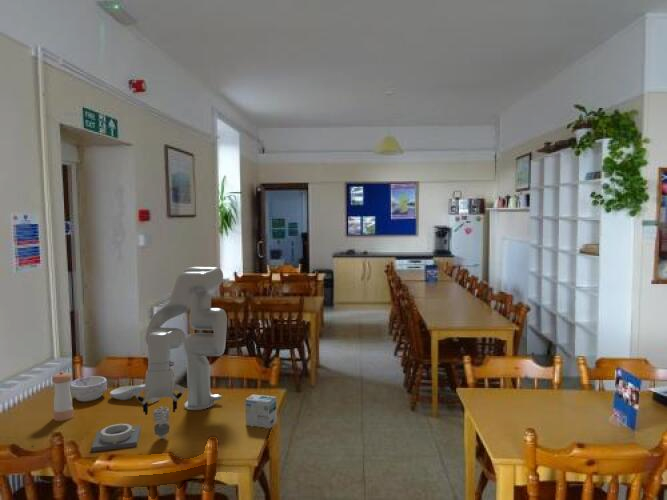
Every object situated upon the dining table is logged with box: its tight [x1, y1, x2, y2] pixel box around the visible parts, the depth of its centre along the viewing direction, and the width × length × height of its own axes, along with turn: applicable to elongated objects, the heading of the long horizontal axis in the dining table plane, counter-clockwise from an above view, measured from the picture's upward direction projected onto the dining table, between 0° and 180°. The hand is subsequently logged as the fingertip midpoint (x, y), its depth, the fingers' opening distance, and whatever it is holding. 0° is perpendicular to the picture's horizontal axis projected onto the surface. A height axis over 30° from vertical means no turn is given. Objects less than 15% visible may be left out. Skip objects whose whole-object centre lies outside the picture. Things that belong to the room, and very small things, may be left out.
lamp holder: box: [90, 423, 141, 453], centre depth 191 cm, size 15×15×4 cm
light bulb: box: [153, 406, 170, 440], centre depth 191 cm, size 6×6×12 cm
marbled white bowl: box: [70, 375, 108, 402], centre depth 236 cm, size 15×15×8 cm
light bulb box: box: [244, 393, 278, 430], centre depth 204 cm, size 11×7×11 cm, turn 71°
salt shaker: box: [51, 370, 74, 422], centre depth 213 cm, size 7×7×19 cm
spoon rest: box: [109, 383, 160, 404], centre depth 234 cm, size 24×12×7 cm, turn 70°
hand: (160, 412), depth 190 cm, fingers open, 9 cm apart
